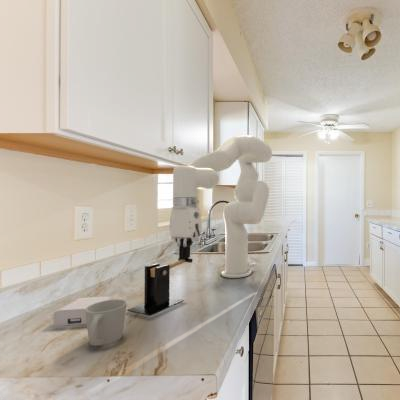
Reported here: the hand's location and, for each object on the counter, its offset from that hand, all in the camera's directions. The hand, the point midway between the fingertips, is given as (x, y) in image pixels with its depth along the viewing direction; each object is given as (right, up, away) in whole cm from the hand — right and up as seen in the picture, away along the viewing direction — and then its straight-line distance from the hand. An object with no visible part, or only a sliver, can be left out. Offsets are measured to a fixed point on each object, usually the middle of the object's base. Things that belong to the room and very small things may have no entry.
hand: (184, 258), depth 90 cm
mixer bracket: (-4, -13, -10) cm, 17 cm away
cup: (-5, -13, -30) cm, 33 cm away
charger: (-19, -13, -15) cm, 28 cm away
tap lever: (-2, -3, -5) cm, 6 cm away
